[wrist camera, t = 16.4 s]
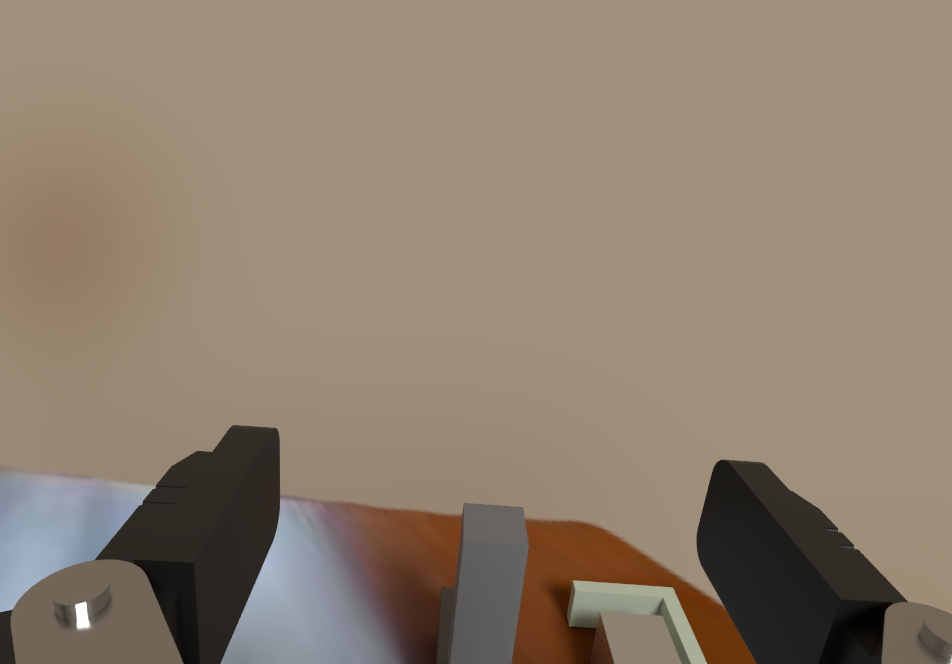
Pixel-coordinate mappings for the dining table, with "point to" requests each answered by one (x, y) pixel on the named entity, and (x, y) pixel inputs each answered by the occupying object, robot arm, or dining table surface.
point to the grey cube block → (632, 640)
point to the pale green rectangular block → (634, 611)
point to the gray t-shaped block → (484, 588)
